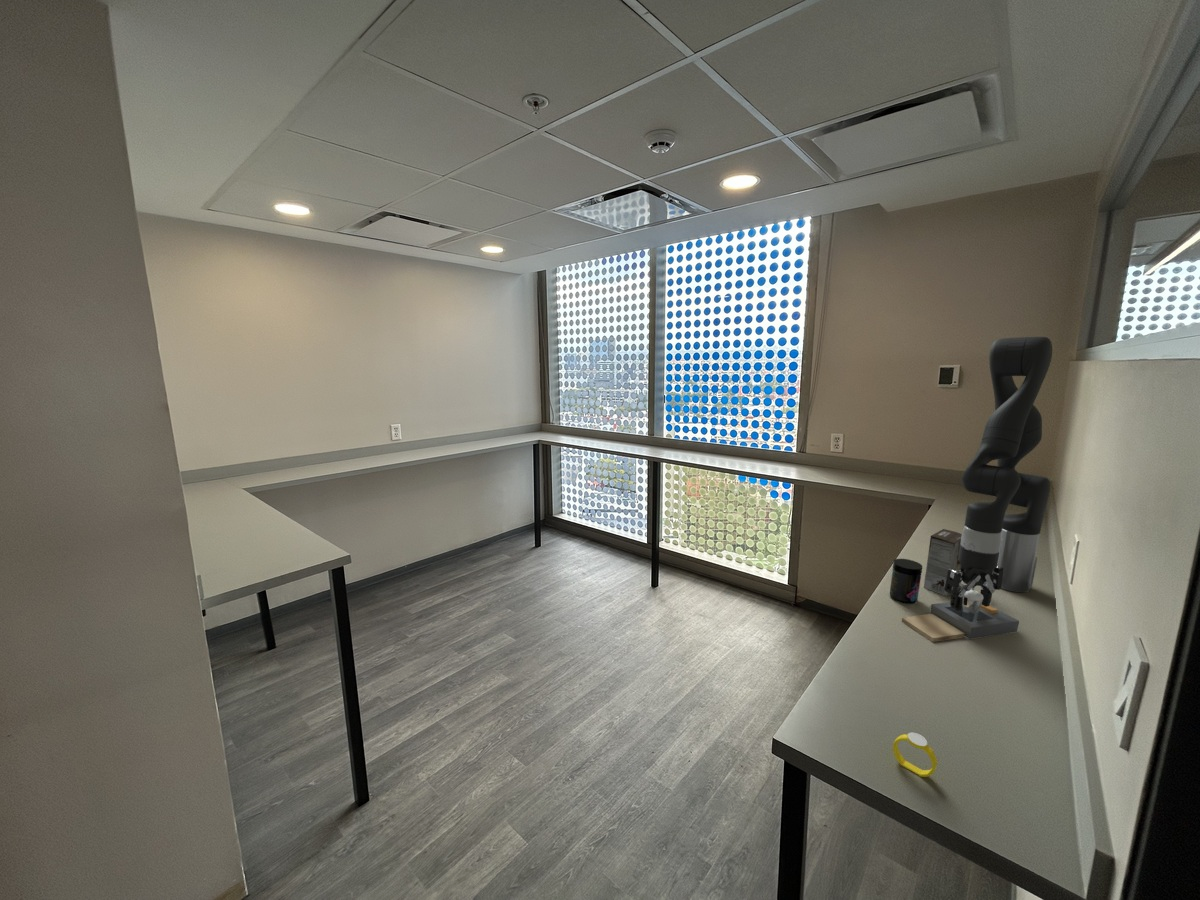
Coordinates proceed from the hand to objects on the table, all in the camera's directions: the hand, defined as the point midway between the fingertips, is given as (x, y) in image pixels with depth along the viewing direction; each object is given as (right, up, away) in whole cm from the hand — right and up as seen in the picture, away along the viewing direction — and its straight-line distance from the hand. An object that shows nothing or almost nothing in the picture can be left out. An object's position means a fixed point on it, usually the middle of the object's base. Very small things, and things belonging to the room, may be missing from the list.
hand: (969, 607), depth 119 cm
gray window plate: (+1, -4, +1) cm, 5 cm away
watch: (-41, -14, -40) cm, 59 cm away
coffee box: (+7, -1, +19) cm, 21 cm away
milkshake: (0, -5, +1) cm, 5 cm away
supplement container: (-8, -2, +13) cm, 16 cm away
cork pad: (-10, -5, -1) cm, 11 cm away
